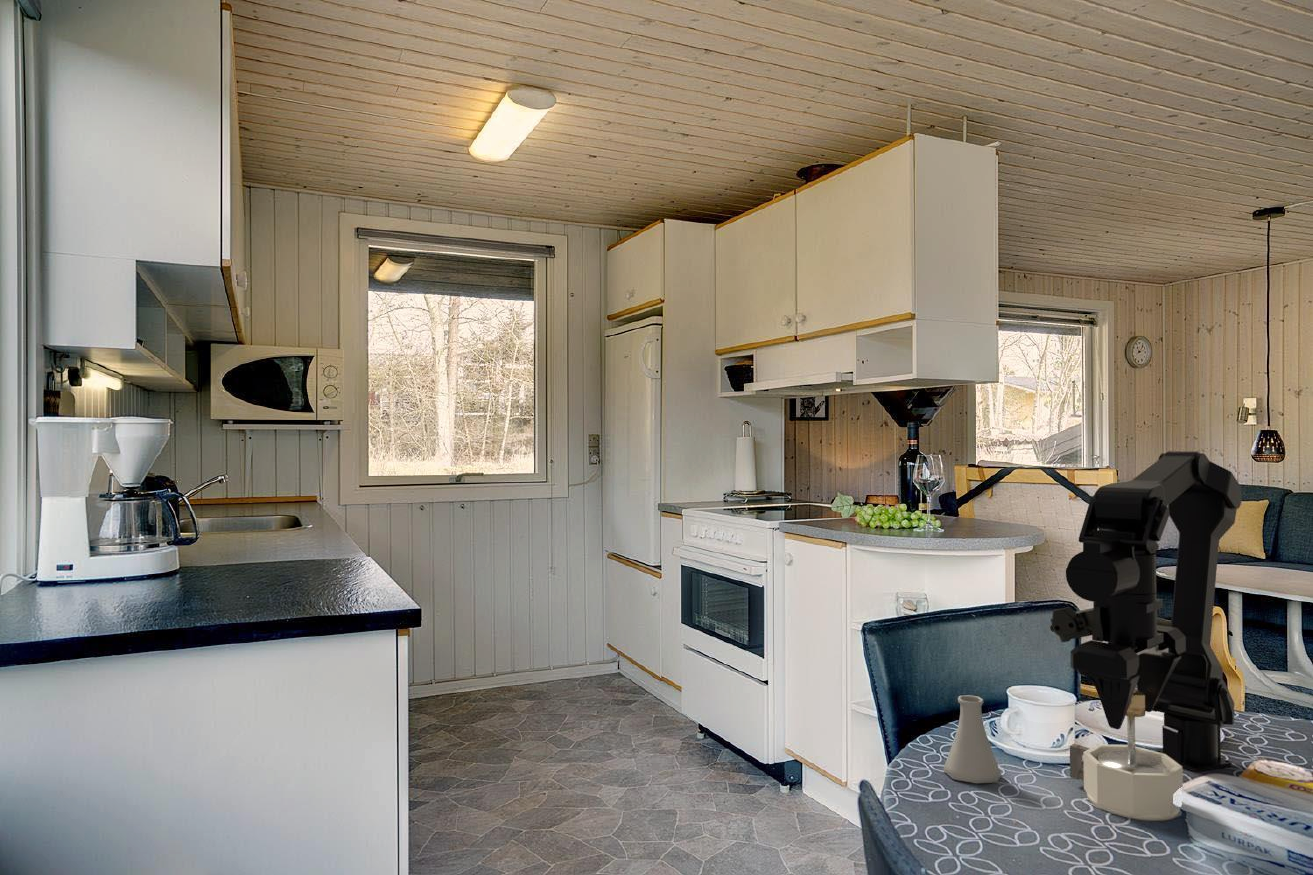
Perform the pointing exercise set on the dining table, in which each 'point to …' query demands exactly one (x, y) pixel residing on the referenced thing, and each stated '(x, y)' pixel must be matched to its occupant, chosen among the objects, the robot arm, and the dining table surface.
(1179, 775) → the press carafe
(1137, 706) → the plunger
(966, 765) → the flask
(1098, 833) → the dining table surface
